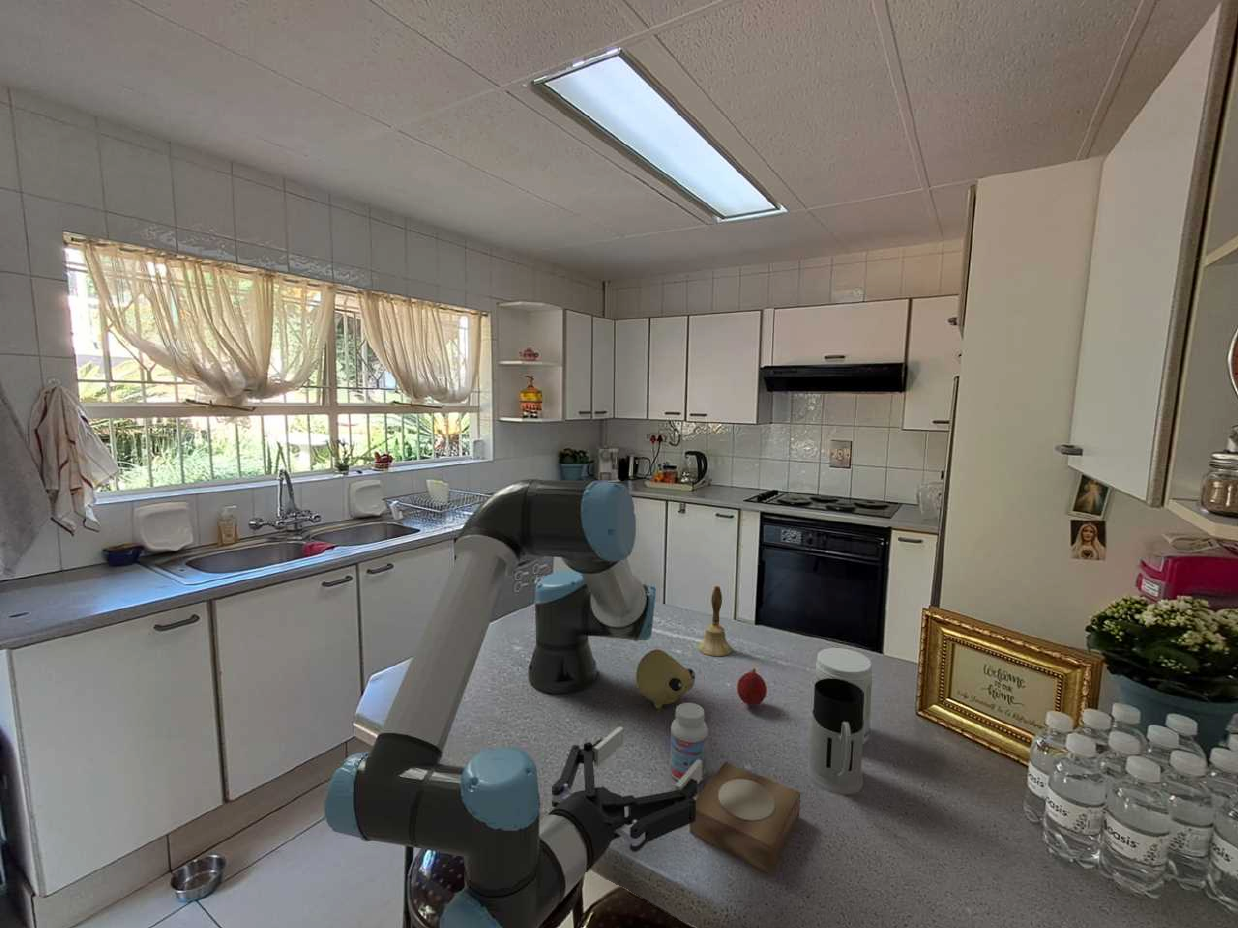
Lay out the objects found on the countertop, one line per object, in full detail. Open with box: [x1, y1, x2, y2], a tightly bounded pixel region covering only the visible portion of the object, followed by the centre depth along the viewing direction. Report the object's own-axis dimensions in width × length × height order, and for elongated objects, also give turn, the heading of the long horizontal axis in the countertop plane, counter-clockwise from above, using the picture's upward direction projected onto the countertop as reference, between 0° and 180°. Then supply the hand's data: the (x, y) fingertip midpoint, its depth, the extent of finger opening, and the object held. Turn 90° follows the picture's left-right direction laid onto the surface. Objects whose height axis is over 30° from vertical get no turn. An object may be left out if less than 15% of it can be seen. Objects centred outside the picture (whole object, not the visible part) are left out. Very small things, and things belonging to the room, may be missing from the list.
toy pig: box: [635, 648, 696, 710], centre depth 111 cm, size 10×12×11 cm
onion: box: [736, 667, 768, 708], centre depth 110 cm, size 6×6×8 cm
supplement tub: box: [815, 647, 873, 745], centre depth 101 cm, size 10×10×15 cm
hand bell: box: [697, 585, 733, 657], centre depth 135 cm, size 8×8×16 cm
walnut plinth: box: [689, 761, 801, 875], centre depth 80 cm, size 12×12×4 cm
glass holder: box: [806, 678, 864, 795], centre depth 87 cm, size 9×14×15 cm, turn 167°
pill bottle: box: [669, 702, 709, 784], centre depth 90 cm, size 6×6×11 cm
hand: (658, 750), depth 82 cm, fingers open, 13 cm apart
